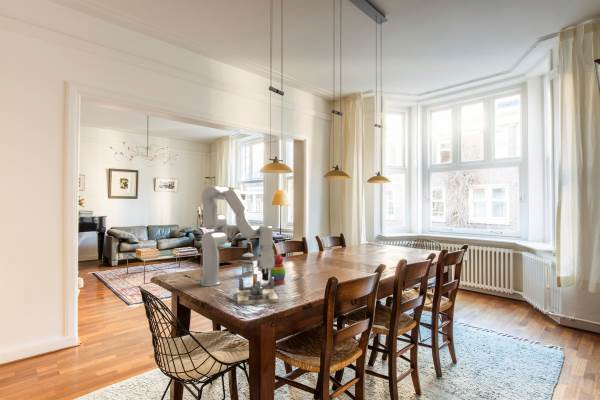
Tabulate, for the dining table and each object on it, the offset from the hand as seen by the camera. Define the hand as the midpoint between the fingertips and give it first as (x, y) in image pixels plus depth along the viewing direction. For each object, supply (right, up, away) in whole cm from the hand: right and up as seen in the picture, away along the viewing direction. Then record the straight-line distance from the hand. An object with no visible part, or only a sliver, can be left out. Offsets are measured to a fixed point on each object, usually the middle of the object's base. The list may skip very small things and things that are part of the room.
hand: (265, 280), depth 180 cm
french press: (-15, -7, +38) cm, 42 cm away
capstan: (-3, -4, -12) cm, 13 cm away
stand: (-3, -6, -12) cm, 14 cm away
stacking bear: (+5, -7, +19) cm, 21 cm away
